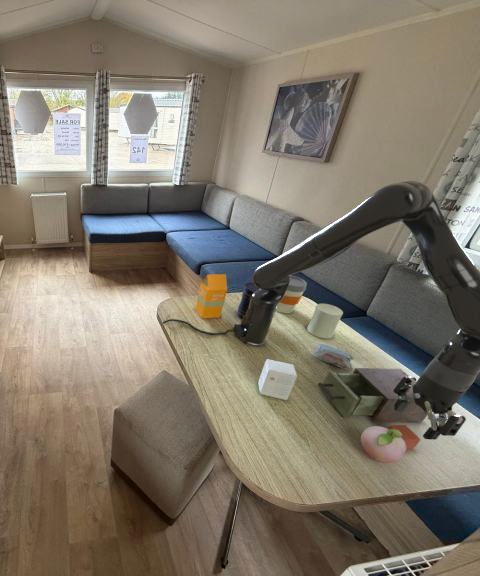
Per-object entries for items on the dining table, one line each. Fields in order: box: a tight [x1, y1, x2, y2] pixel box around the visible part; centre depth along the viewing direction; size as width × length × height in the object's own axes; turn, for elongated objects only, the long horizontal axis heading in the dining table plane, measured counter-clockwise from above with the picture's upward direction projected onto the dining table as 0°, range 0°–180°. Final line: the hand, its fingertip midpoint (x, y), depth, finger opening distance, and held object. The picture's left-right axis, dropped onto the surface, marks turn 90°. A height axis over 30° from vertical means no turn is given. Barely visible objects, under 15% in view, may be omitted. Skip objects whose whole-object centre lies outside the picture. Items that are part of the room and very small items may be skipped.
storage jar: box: [236, 282, 260, 320], centre depth 137 cm, size 10×10×15 cm
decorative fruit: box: [360, 425, 407, 464], centre depth 80 cm, size 9×8×10 cm
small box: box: [257, 358, 298, 401], centre depth 99 cm, size 8×6×10 cm
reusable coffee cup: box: [275, 275, 308, 314], centre depth 145 cm, size 13×13×15 cm
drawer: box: [316, 370, 385, 419], centre depth 95 cm, size 18×11×8 cm, turn 90°
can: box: [306, 303, 344, 339], centre depth 129 cm, size 9×9×12 cm
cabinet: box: [352, 367, 428, 424], centre depth 95 cm, size 15×13×10 cm
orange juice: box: [195, 273, 228, 319], centre depth 138 cm, size 8×9×20 cm
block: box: [387, 424, 422, 451], centre depth 85 cm, size 4×4×4 cm
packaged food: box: [312, 343, 354, 371], centre depth 114 cm, size 9×12×5 cm
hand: (412, 423), depth 82 cm, fingers open, 8 cm apart
